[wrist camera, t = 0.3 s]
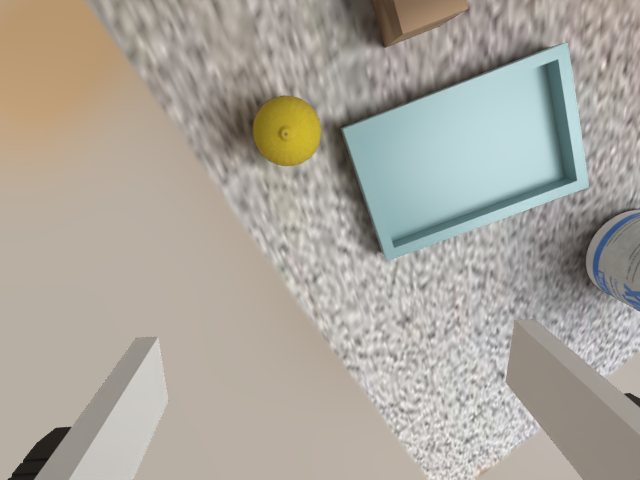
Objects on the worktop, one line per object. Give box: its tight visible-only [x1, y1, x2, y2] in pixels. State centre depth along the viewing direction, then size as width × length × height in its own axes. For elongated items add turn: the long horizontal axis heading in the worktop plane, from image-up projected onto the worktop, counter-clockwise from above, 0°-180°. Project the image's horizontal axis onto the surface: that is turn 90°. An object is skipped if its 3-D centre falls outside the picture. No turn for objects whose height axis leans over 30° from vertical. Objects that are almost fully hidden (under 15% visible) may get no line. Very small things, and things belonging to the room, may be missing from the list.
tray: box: [340, 42, 589, 261], centre depth 36 cm, size 13×20×2 cm, turn 110°
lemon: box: [253, 96, 321, 166], centre depth 32 cm, size 6×6×8 cm
